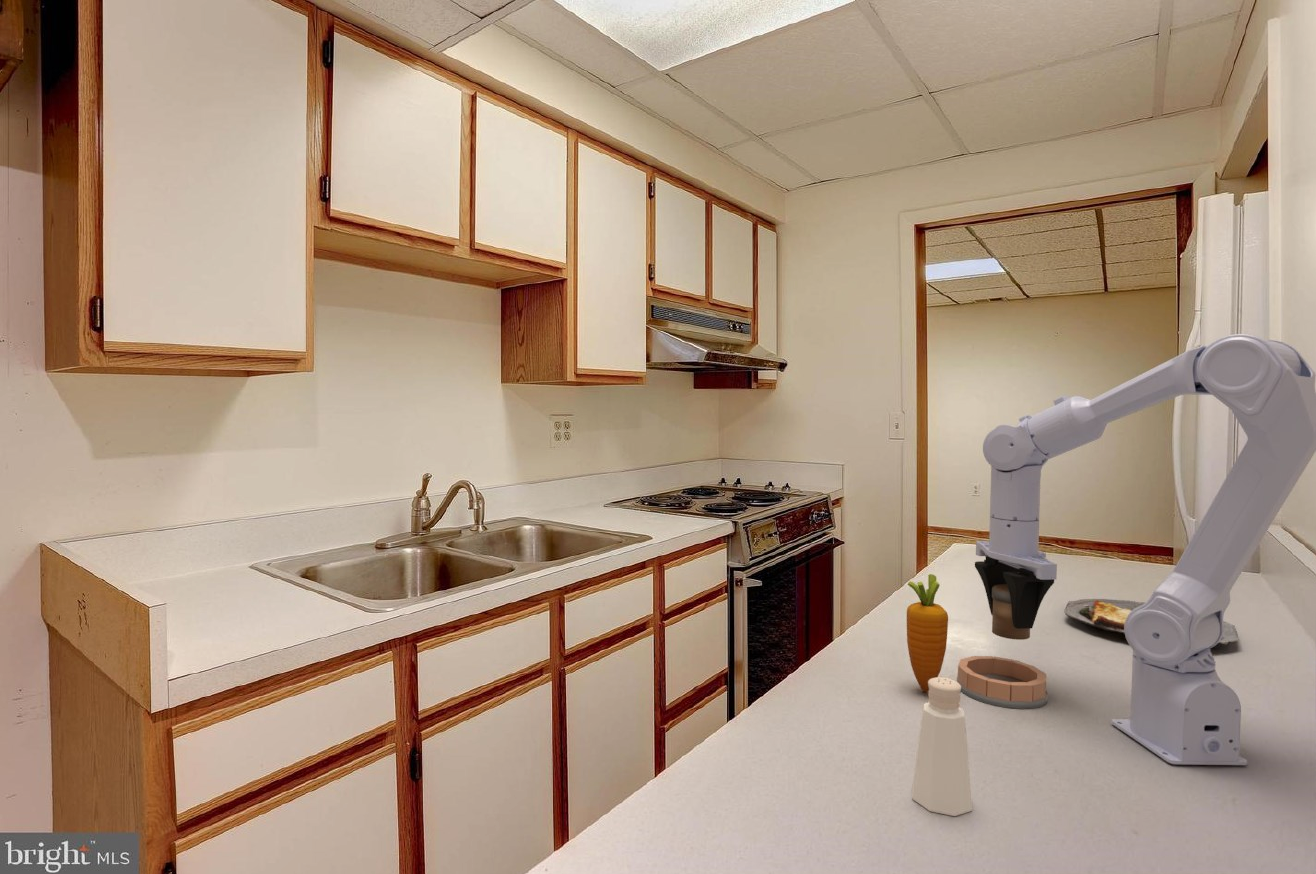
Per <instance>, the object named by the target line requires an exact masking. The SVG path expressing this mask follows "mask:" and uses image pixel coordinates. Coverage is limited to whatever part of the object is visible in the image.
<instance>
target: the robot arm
mask: <svg viewBox="0 0 1316 874" xmlns="http://www.w3.org/2000/svg"><path fill="white" fill-rule="evenodd" d="M1315 385H1316V372H1315V371H1314V370H1313V368H1312V367H1311V365H1309V363H1308V362H1307V361H1306V359H1305V358H1304V357H1303V356H1302V355H1301V353H1300V352H1299V351H1298V350H1297V349H1296V348H1295V347H1293V346H1292V345H1290V344H1288V343H1285V342H1282V341H1279V340H1272V339H1263V338H1261V337H1260V336H1256V335H1252V334H1247V333H1237V334H1236V333H1234V334H1230V335H1226V336H1223V337H1220V338H1218V339H1216V340H1214V341H1212V342H1211V343H1210V344H1208V345H1201V346H1198V347H1195V348H1191V349H1188V350H1187V351H1185V352H1183V353H1180V354H1178V355H1177V356H1175V357H1172V358H1170V359H1169V360H1166V361H1165V362H1162V363H1161V364H1159V365H1157V366H1155V367H1153V368H1151V369H1149V370H1147V371H1145V372H1144V373H1141V374H1139V375H1138V376H1137V375H1136V376H1135V377H1134V378H1132V379H1129V380H1127V381H1125V382H1124V383H1122V384H1119V385H1118V386H1115V387H1114V388H1111V389H1110V390H1107V391H1106V392H1104V393H1101V394H1099V395H1098V396H1096V397H1094V398H1093V399H1088V398H1086V397H1083V396H1078V395H1074V396H1072V397H1069V396H1064V395H1062V396H1059V397H1057V398H1055V399H1054V400H1052V401H1053V404H1054V405H1053V406H1051V407H1048V408H1046V409H1044V410H1042V411H1040V412H1038V413H1036V414H1035V413H1034V414H1033V415H1029V414H1025V415H1023V416H1020V417H1019V418H1018V421H1019V422H1017V423H1018V424H1017V425H1012V424H999V425H997V426H996V427H995V428H994V429H992V430H991V431H989V433H988V434H987V435H986V436H985V437H984V441H983V444H982V452H983V456H984V458H985V460H986V462H987V463H988V465H990V469H991V470H990V497H989V498H990V501H989V534H988V535H989V539H988V540H987V541H986V540H985V541H982V540H981V541H980V540H977V541H975V556H978V557H985V559H984V560H983V561H979V560H978V561H975V562H974V568H975V569H976V571H977V572H978V575H979V577H980V578H981V581H982V584H983V586H984V590H985V594H986V597H987V603H988V607H989V611H990V614H991V616H993V598H992V587H993V586H994V585H998V584H1007V586H1008V589H1009V593H1010V598H1011V606H1012V620H1013V624H1014V627H1015V628H1018V629H1030V630H1031V629H1033V626H1034V623H1035V622H1036V618H1037V615H1038V611H1039V609H1040V607H1041V604H1042V601H1043V599H1044V597H1045V596H1046V594H1047V593H1048V592H1049V590H1050V589H1051V587H1052V586H1053V585H1054V584H1055V580H1057V573H1058V572H1057V571H1058V569H1057V568H1058V564H1057V563H1056V562H1053V561H1051V560H1049V559H1048V558H1047V552H1045V551H1042V550H1039V546H1040V545H1039V543H1040V542H1039V540H1040V537H1039V536H1040V509H1041V508H1040V506H1041V504H1040V503H1041V475H1042V474H1041V473H1042V468H1043V467H1044V466H1045V465H1046V464H1047V462H1048V461H1049V459H1053V458H1056V457H1057V456H1061V455H1063V454H1065V453H1068V452H1071V451H1073V450H1074V449H1077V448H1079V447H1083V446H1086V445H1087V444H1090V443H1092V442H1095V441H1098V440H1099V439H1100V438H1102V436H1103V434H1104V432H1105V429H1106V427H1107V425H1108V424H1109V423H1112V422H1115V421H1117V420H1120V419H1122V418H1124V417H1128V416H1131V415H1132V414H1136V413H1137V412H1140V411H1143V410H1145V409H1148V408H1151V407H1153V406H1154V407H1155V406H1156V405H1158V404H1161V403H1164V402H1167V401H1169V400H1172V399H1174V398H1177V397H1179V396H1184V395H1185V396H1186V395H1191V396H1193V395H1197V396H1198V395H1199V396H1200V395H1201V396H1202V395H1203V396H1205V395H1206V396H1213V397H1214V398H1215V399H1216V400H1218V401H1220V402H1221V403H1223V405H1224V406H1226V407H1227V408H1228V409H1230V410H1231V412H1232V414H1233V415H1234V416H1235V418H1236V420H1237V422H1238V424H1239V425H1240V426H1241V428H1242V430H1243V431H1244V433H1245V435H1246V436H1247V440H1246V442H1245V444H1244V446H1243V448H1242V449H1241V451H1240V453H1239V455H1237V458H1236V460H1235V461H1234V463H1233V465H1232V467H1231V469H1230V471H1229V472H1228V474H1227V475H1226V477H1225V479H1224V480H1223V483H1222V484H1221V486H1220V488H1219V490H1218V491H1217V493H1216V495H1215V497H1214V498H1213V499H1212V502H1211V503H1210V505H1209V507H1208V509H1207V511H1206V512H1205V514H1204V516H1203V517H1202V519H1201V521H1200V523H1199V524H1198V526H1197V528H1196V529H1195V531H1194V533H1193V535H1192V537H1191V538H1190V541H1189V542H1188V544H1187V546H1186V547H1185V549H1184V551H1183V553H1182V554H1181V556H1180V558H1179V560H1178V561H1177V563H1176V565H1175V566H1174V567H1173V570H1172V571H1171V573H1169V575H1168V576H1167V577H1166V578H1165V579H1164V580H1163V581H1161V583H1160V584H1159V585H1158V586H1157V587H1156V588H1155V589H1154V591H1153V592H1152V594H1151V595H1150V597H1149V598H1148V599H1147V601H1146V602H1144V603H1145V604H1143V605H1141V606H1139V607H1137V608H1135V609H1134V610H1132V611H1131V612H1130V613H1129V615H1128V616H1127V618H1126V620H1125V624H1124V633H1125V634H1124V633H1123V634H1124V635H1125V636H1124V637H1125V639H1126V642H1127V643H1128V645H1129V647H1130V648H1131V649H1132V661H1131V664H1132V665H1131V690H1130V692H1131V694H1130V717H1129V718H1130V719H1128V718H1127V719H1126V718H1123V719H1122V718H1119V719H1118V718H1113V719H1111V722H1110V723H1111V725H1113V726H1114V727H1116V728H1118V729H1119V730H1121V732H1123V733H1125V734H1126V735H1128V736H1129V737H1131V738H1132V739H1134V740H1135V741H1136V742H1138V743H1140V745H1142V746H1143V747H1145V748H1146V749H1148V750H1149V751H1151V752H1152V753H1154V754H1155V755H1156V756H1158V757H1160V758H1161V759H1162V760H1164V761H1165V762H1167V763H1169V764H1170V765H1171V764H1172V765H1190V766H1191V765H1193V766H1195V765H1197V766H1199V765H1200V766H1202V765H1203V766H1204V765H1205V766H1206V765H1207V766H1213V765H1214V766H1247V765H1248V759H1245V758H1244V757H1243V756H1241V755H1240V746H1241V745H1240V743H1241V718H1242V705H1241V702H1240V699H1239V697H1238V695H1237V693H1236V692H1235V690H1234V689H1232V688H1231V686H1228V685H1227V684H1226V683H1225V682H1223V681H1222V680H1221V678H1220V676H1219V675H1218V673H1217V670H1216V661H1215V657H1214V656H1213V653H1212V652H1211V649H1212V648H1213V647H1215V646H1217V645H1218V644H1217V643H1218V642H1219V641H1220V640H1221V638H1222V636H1223V632H1224V623H1223V621H1224V615H1225V612H1226V610H1227V608H1228V607H1229V605H1230V603H1231V591H1232V588H1233V587H1234V586H1235V584H1236V582H1237V580H1238V579H1239V577H1240V575H1241V574H1242V572H1243V571H1244V569H1245V567H1246V565H1247V564H1248V562H1249V561H1250V559H1251V557H1252V556H1253V554H1254V553H1255V551H1256V550H1257V547H1258V546H1259V545H1260V543H1261V541H1262V539H1263V538H1264V536H1265V535H1266V533H1267V532H1268V530H1269V528H1270V527H1271V526H1272V524H1273V522H1274V521H1275V518H1276V516H1277V515H1278V513H1279V512H1280V511H1281V509H1282V508H1283V505H1284V504H1285V502H1286V501H1287V499H1288V497H1289V496H1290V494H1291V492H1292V491H1293V489H1294V487H1295V486H1296V485H1297V482H1298V481H1299V479H1300V477H1301V476H1302V474H1303V473H1304V471H1305V469H1306V468H1307V466H1308V464H1309V462H1310V461H1311V460H1312V458H1313V456H1314V455H1315V453H1316V387H1315Z"/></svg>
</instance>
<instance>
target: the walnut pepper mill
mask: <svg viewBox="0 0 1316 874" xmlns="http://www.w3.org/2000/svg"><path fill="white" fill-rule="evenodd" d="M992 598H993V616H992V615H991V616H992V619H991V620H992V622H991V623H992V626H991V632H992V634H993V635H995V636H997V637H1000V638H1004V639H1010V640H1017V641H1018V640H1019V641H1022V640H1023V641H1024V640H1028V639H1029V638H1030V637H1031V628H1030V629H1018V628H1015V627H1014V624H1013V620H1012V606H1011V598H1010V593H1009V589H1008V586H1007V584H998V585H994V586H993V587H992Z"/></svg>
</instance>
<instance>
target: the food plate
mask: <svg viewBox="0 0 1316 874" xmlns="http://www.w3.org/2000/svg"><path fill="white" fill-rule="evenodd" d="M1145 603H1146V602H1143V601H1141V602H1139V601H1135V600H1126V599H1125V600H1124V599H1111V598H1110V599H1109V598H1083V599H1078V600H1077V599H1076V600H1069V601H1068V602H1067V603H1066V606H1065V608H1064V611H1063V613H1064V614H1065V615H1066V616H1067V617H1068V618H1069V619H1072V620H1074V621H1077V622H1080V623H1083V624H1085V625H1088V626H1090V627H1094V628H1098V629H1102V630H1104V631H1106V632H1112V633H1120V634H1124V635H1125V633H1124V624H1125V620H1126V618H1127V616H1128V615H1129V613H1130V612H1131V611H1132V610H1134V609H1135V608H1137V607H1139V606H1141V605H1143V604H1145ZM1223 623H1224V632H1223V636H1222V638H1221V640H1220V641H1219V642H1218V643H1217V644H1216V645H1219V647H1220V648H1221V645H1222V646H1226V645H1228V643H1229V642H1230V643H1231V644H1236V643H1237V642H1238V641H1240V639H1239V636H1238V630H1237V628H1236V626H1235V625H1234V624H1232V623H1230V622H1227V621H1225V620H1223Z"/></svg>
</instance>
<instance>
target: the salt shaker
mask: <svg viewBox="0 0 1316 874" xmlns="http://www.w3.org/2000/svg"><path fill="white" fill-rule="evenodd" d="M928 686H929V691H928V702H925V703H923V705H922V712H921V720H920V728H919V735H918V741H917V750H916V758H915V765H914V766H915V767H914V772H913V779H912V780H913V781H912V788H911V789H912V790H911V791H912V795H911V796H912V801H914V802H916V803H917V804H919V805H920V806H921V807H922V808H925V809H926V810H928V811H929V812H932V813H936V814H942V815H946V816H951V817H957V816H961V815H963V814H967V813H970V812H972V810H973V804H972V792H971V791H972V789H971V778H970V777H971V776H970V766H969V763H970V762H969V751H968V749H969V748H968V738H967V726H966V716H965V711H964V709H963V708H961V707H960V702H961V695H960V693H961V685H960V684H959V683H958V682H957V680H953V679H951V678H948V677H942V676H938V677H936V678H932V679H930V680H929V681H928Z"/></svg>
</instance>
